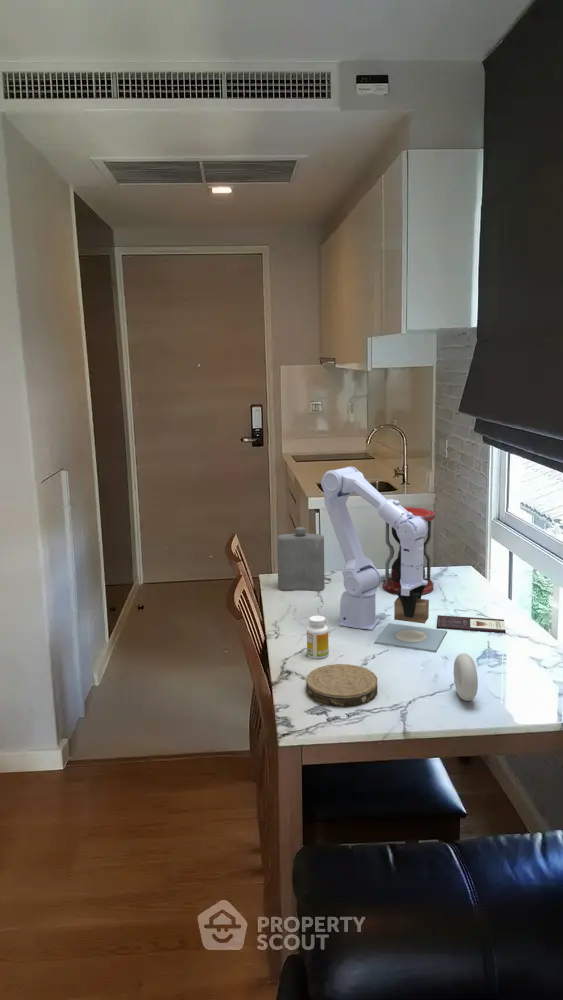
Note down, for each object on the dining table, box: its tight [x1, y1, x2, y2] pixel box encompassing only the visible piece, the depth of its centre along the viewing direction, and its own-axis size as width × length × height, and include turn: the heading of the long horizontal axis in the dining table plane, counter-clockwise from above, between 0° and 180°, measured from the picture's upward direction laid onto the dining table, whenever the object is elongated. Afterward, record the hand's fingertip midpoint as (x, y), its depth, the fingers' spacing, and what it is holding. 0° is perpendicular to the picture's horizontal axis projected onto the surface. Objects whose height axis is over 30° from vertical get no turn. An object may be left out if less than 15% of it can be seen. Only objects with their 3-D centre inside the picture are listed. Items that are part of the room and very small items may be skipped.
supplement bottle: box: [306, 615, 330, 660], centre depth 177 cm, size 5×5×10 cm
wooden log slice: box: [305, 663, 378, 708], centre depth 159 cm, size 16×16×3 cm
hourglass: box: [382, 506, 436, 596], centre depth 225 cm, size 16×16×25 cm
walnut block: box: [393, 597, 430, 624], centre depth 186 cm, size 4×8×5 cm, turn 66°
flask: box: [276, 526, 326, 592], centre depth 228 cm, size 15×6×20 cm, turn 86°
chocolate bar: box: [435, 614, 507, 634], centre depth 195 cm, size 9×1×18 cm
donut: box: [453, 653, 479, 702], centre depth 153 cm, size 10×4×10 cm, turn 1°
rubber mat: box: [373, 622, 448, 653], centre depth 187 cm, size 16×14×1 cm
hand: (411, 613), depth 186 cm, fingers closed on walnut block, 4 cm apart
